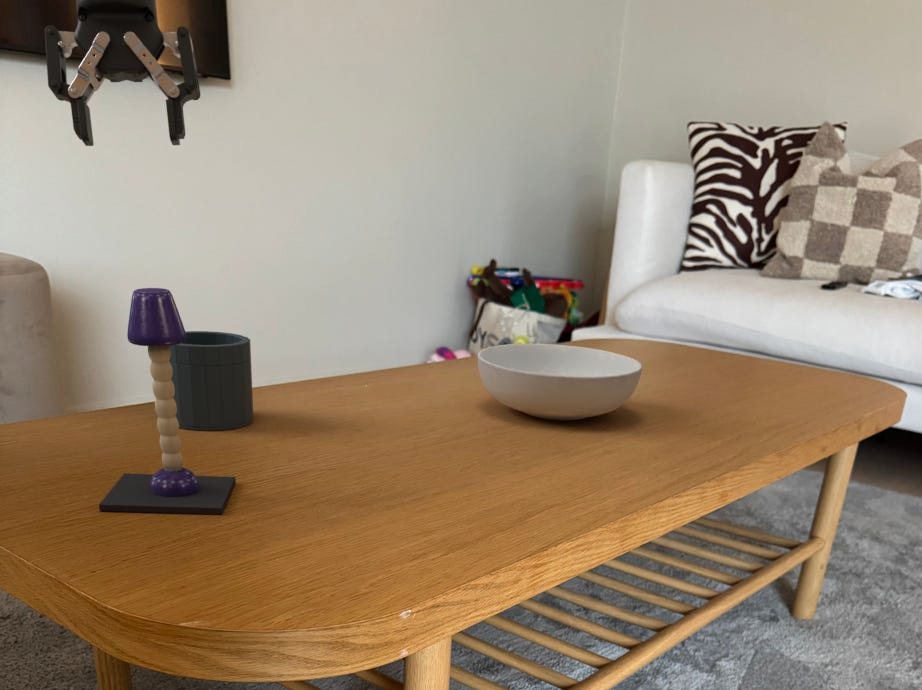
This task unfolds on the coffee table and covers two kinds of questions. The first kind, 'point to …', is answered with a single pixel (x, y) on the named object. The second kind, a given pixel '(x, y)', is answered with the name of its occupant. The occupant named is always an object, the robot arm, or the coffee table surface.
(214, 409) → the jar
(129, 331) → the toy lamp
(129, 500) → the mat
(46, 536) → the coffee table surface
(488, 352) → the serving bowl
